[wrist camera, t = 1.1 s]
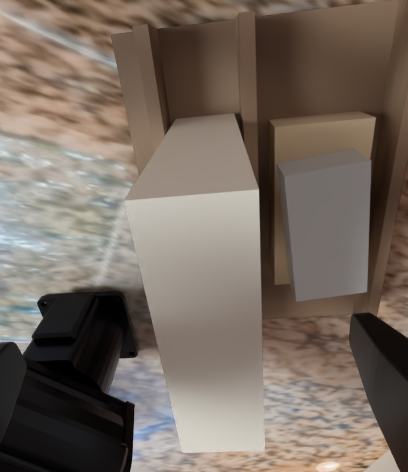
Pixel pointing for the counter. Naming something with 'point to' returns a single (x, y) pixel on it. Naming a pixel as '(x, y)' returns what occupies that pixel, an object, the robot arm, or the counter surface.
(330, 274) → the grey offcut
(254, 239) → the panel
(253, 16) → the rack
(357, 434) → the counter surface
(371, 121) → the oak offcut
